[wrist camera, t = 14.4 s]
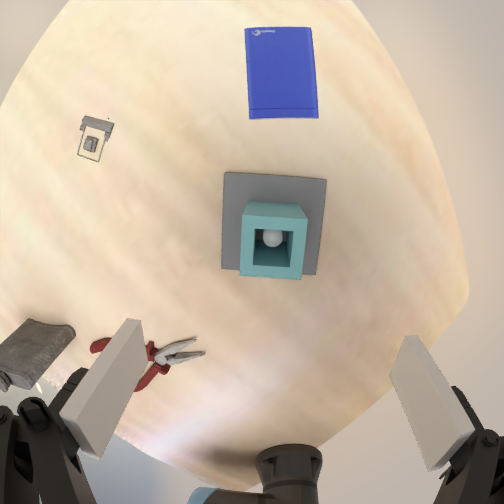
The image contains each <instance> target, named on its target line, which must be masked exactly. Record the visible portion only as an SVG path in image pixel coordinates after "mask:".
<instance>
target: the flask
mask: <svg viewBox="0 0 504 504" xmlns="http://www.w3.org/2000/svg"><path fill="white" fill-rule="evenodd" d="M75 336H76V333H75V330H74V329H73V328H72V327H71V326H70V325H50V324H44V323H41V322H37V321H35V320H32V319H28V320H27V321H26V322H24V323H23V324H22V325H21V326H20V327H19V328H18V329H17V330H16V331H14V332H13V333H12V334H11V335H10V336H9V337H8V338H7V339H6V340H5V341H4V342H3V343H1V344H0V389H1V390H2V391H3V392H7V391H8V387H9V386H10V385H14V386H16V387H20V388H23V389H27V390H30V389H31V388H32V387H33V386H34V384H35V383H36V382H37V381H38V379H39V378H40V377H41V376H42V375H43V373H44V372H45V371H46V370H47V369H48V367H49V366H50V365H51V364H52V363H53V361H54V360H55V359H56V358H57V357H58V356H59V354H60V353H61V352H62V351H63V350H64V349H65V348H66V346H67V345H68V344H69V343H70V342H71V341H72V340H73V338H74V337H75Z"/></svg>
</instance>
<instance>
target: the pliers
mask: <svg viewBox="0 0 504 504" xmlns="http://www.w3.org/2000/svg"><path fill="white" fill-rule="evenodd" d="M110 340H111V339H110V338H106V339H102V340H100V341H97V342H94V343H92V344H91V346H90V352H91V353H92V354H93V353H97V352H100V351H103V350H104V348H105V347H106V346H107V344H108V343H109V342H110ZM195 341H196V339H193V340H188V341H183V342H178V343H173V344H170V345H167V346H165V347H164V348H163V349H157V348H154V342H152V341H149V343H148V345H147V346H145V348H146V353H147V358H148V361H153V362H154V360H155V362H154V364H153V365H152V366H151V367H150V369H149V370H148V371H147V372H146V374H145V375H144V376H143V377H142V378H141V379H140V380H139V382H138V384H137V386H136V388H135V390H134V392H138V391H140V390H142V389H143V388H145V387H146V386H147V385H148V384H149V383H150V381H151V380H152V379H153V378H154V377H155V375H156V374H157V373H158V372H159V373H161V374H163V375H165V374H167V373H168V371H169V369H170V365H171V364H178V363H181V362H184V361H187V360H190V359H193V358H196V357H199V356H202V355H205V353H185V352H184V353H177V354H176V356H171V355H172V354H174V353H176V352H178V351H180V350H181V349H183V348H185V347H186V346H188V345H190V344H191V343H193V342H195ZM170 354H171V355H170ZM167 362H168V364H167Z"/></svg>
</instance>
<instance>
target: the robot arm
mask: <svg viewBox="0 0 504 504" xmlns="http://www.w3.org/2000/svg"><path fill="white" fill-rule="evenodd" d="M147 364H148V358H147V353H146V348H145V342H144V336H143V330H142V324H141V320H135V319H129V318H127V319H126V320H125V322H124V323H123V324H122V326H121V327H120V328H119V330H118V331H117V332H116V334H115V335H114V336H113V338H112V339H111V340H110V342H109V343H108V344H107V346H106V347H105V348H104V350H103V351H102V352H101V354H100V355H99V357H98V358H97V359H96V361H95V362H94V363H93V365H92V366H91V368H90V369H86V368H82V367H81V368H80V369H78V370H77V371H75V372H74V373H72V375H71V376H70V377H69V379H68V380H67V383H65V384H64V386H63V387H62V389H61V390H60V391H59V392H58V394H57V395H56V397H55V398H54V399H53V401H52V402H51V404H50V405H49V406H48V407H47V405H46V404H45V402H44V401H43V400H42V399H40V398H38V397H29V398H26V399H24V400H23V401H22V402H20V404H19V406H18V409H17V413H18V414H19V416H16V415H14V414H13V413H12V411H11V410H10V409H9V408H8V407H7V406H0V504H39V494H40V497H41V501H42V504H97V503H96V501H95V498H94V496H93V494H92V491H91V489H90V486H89V484H88V481H87V479H86V476H85V473H84V470H83V468H82V465H81V462H80V459H79V456H78V455H77V451H78V449H79V447H80V448H81V450H82V451H83V453H84V454H85V455H88V456H91V457H93V458H96V459H99V460H101V458H102V456H103V453H104V451H105V449H106V447H107V445H108V443H109V441H110V439H111V436H112V434H113V432H114V430H115V428H116V426H117V424H118V422H119V420H120V418H121V416H122V414H123V412H124V410H125V408H126V406H127V404H128V402H129V400H130V398H131V396H132V394H133V392H134V390H135V388H136V386H137V384H138V382H139V380H140V378H141V376H142V374H143V372H144V370H145V368H146V366H147ZM390 379H391V381H392V383H393V385H394V387H395V390H396V392H397V394H398V397H399V399H400V401H401V404H402V406H403V408H404V411H405V413H406V416H407V418H408V421H409V423H410V425H411V428H412V430H413V433H414V435H415V437H416V441H417V443H418V446H419V448H420V451H421V454H422V456H423V459H424V462H425V465H426V467H427V470H428V472H430V471H433V470H436V469H440V468H442V467H443V466H444V465H445V464H446V463H447V462H448V461H450V464H451V466H450V467H449V468H448V469H447V470H446V471H445V472H444V473H443V474H442V475H441V476H440V478H439V479H441V478H443V477H444V476H445V478H444V480H443V483H442V485H441V487H440V490H439V492H438V495H437V497H436V499H435V501H434V503H433V504H504V436H502V437H501V436H500V437H499V436H498V434H497V433H496V432H494V431H493V430H489V429H486V430H485V429H484V428H483V426H482V424H481V422H480V421H479V419H478V417H477V416H476V414H475V412H474V410H473V409H472V408H471V405H470V404H469V402H468V401H467V399H466V397H465V395H464V394H463V392H462V391H460V390H459V389H458V388H457V387H456V386H450V385H449V383H448V382H447V381H446V379H445V377H444V375H443V374H442V372H441V370H440V369H439V367H438V366H437V364H436V363H435V361H434V360H433V358H432V357H431V355H430V354H429V352H428V351H427V349H426V348H425V346H424V345H423V343H422V342H421V340H420V339H419V337H418V336H417V335H416V336H405V338H404V341H403V343H402V346H401V349H400V351H399V354H398V356H397V359H396V361H395V364H394V366H393V369H392V371H391V373H390ZM321 467H322V454H321V452H320V451H319V450H318V449H316V448H314V447H311V446H307V445H298V444H290V445H281V446H276V447H272V448H269V449H267V450H265V451H263V452H261V453H260V454H259V455H258V457H257V461H256V468H257V471H258V474H259V477H260V480H261V482H262V485H263V494H261V493H250V492H240V491H232V490H224V489H220V488H207V487H199V488H197V489H195V490H194V492H193V493H192V494H191V496H190V498H189V500H188V503H187V504H318V492H317V481H318V477H319V474H320V470H321Z"/></svg>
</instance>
